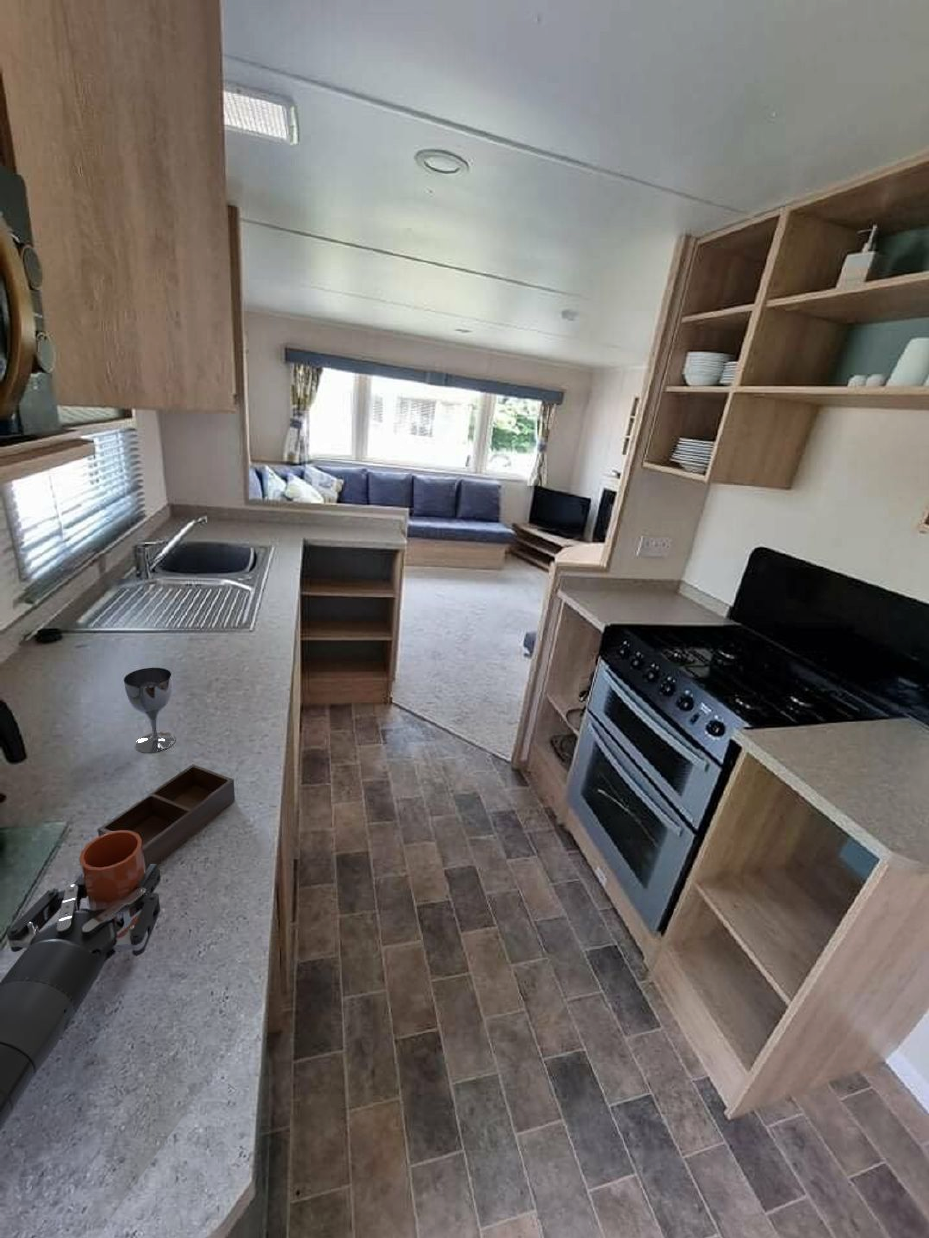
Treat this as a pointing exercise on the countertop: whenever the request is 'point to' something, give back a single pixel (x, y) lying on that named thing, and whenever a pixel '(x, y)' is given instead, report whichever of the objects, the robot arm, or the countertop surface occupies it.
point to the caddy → (174, 811)
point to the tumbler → (112, 869)
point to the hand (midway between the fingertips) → (127, 867)
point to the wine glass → (150, 702)
